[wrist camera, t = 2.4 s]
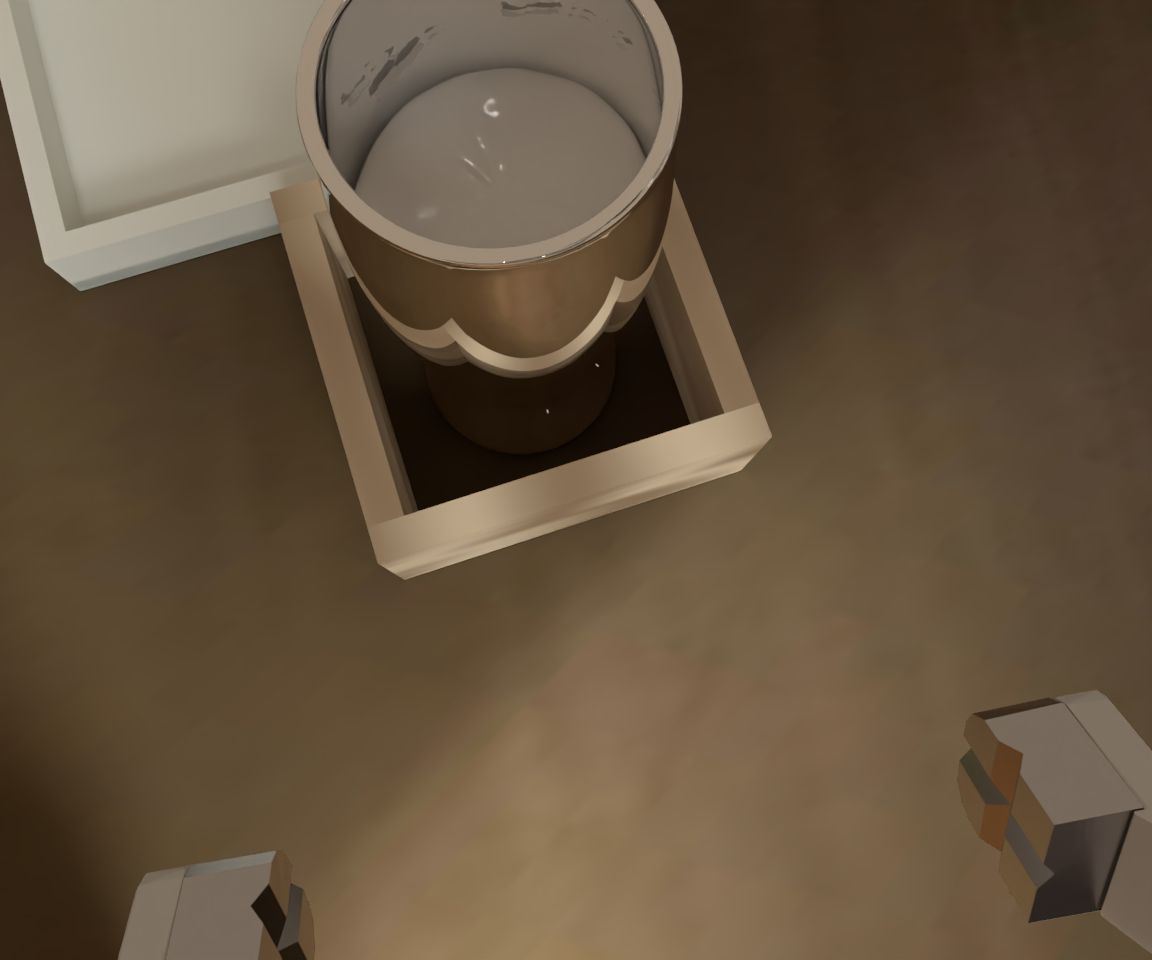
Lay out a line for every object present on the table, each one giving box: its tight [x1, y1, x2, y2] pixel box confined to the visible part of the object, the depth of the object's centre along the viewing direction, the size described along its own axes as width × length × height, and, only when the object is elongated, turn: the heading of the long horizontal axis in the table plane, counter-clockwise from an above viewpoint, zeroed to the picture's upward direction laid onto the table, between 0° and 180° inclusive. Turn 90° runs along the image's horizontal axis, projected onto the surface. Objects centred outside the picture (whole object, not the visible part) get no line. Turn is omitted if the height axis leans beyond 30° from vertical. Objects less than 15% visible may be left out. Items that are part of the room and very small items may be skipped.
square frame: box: [269, 179, 772, 580], centre depth 29 cm, size 11×11×4 cm
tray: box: [0, 0, 325, 291], centre depth 32 cm, size 14×14×2 cm
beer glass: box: [295, 0, 683, 454], centre depth 23 cm, size 7×7×15 cm
